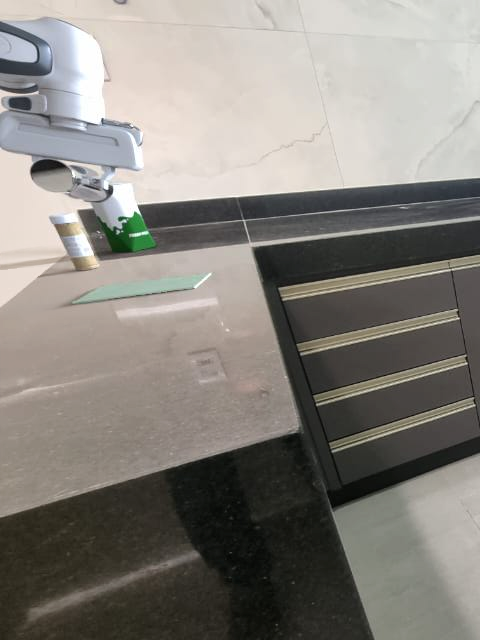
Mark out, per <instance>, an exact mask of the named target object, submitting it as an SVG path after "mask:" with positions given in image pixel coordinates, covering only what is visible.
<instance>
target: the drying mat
mask: <svg viewBox="0 0 480 640" xmlns="http://www.w3.org/2000/svg"><path fill="white" fill-rule="evenodd" d="M211 275H212V272H206V273H198V274H190V275H182V276H181V275H180V276H174V277H173V276H172V277H166V278H165V277H164V278H157V279H149V280H148V279H147V280H142V281H141V280H140V281H132V282H123V283H117V284H108V285H101V286H99V287H98V288H96V289H93V290H92V291H90V292H89V293H86V294H85V295H84V296H81V297H79V298H78V299H76V300H74V301H73V302H72V305H81V304H88V303H89V304H90V303H96V301H97V302H103V300H104V301H109V300H108V299H112V300H115V299H114V298H120V297H127V296H135V295H142V296H146V295H145V294H150V295H153V294H152V293H158V294H162V293H161V292H165V293H168V292H167V291H172V290H181V291H184V290H183V289H188V290H193V289H192V288H195V289H197V288H198V287H199V286H200V285H201V284H203V282H204V281H206V280H207V279H208V278H209V277H210V276H211ZM135 297H136V296H135ZM127 298H128V297H127ZM120 299H121V298H120Z"/></svg>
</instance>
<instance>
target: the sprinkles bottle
mask: <svg viewBox="0 0 480 640" xmlns="http://www.w3.org/2000/svg"><path fill="white" fill-rule="evenodd" d="M48 219H49V221H50V223H51V224H52V225H53V227H54V228H55V231H56V233H57V235H58V237H59V239H60V241H61V243H62V245H63V247H64V249H65V251H66V253H67V255H68V257H69V258H70V260H71V262H72V264H73V266H74V269H75V271H88V270H94V269H98V268H99V267H100V263H98V261H97V259H96V257H95V255H94V251H93V249H92V248H91V245H90V243H89V241H88V239H87V237H86V234H85V233H84V232H83V230H82V228H81V226H80V224H79V220H78V218H77V215H76V214H75V213H73V212H72V213H71V212H69V213H57V214H53V215H49V216H48Z"/></svg>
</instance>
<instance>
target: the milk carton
mask: <svg viewBox="0 0 480 640" xmlns="http://www.w3.org/2000/svg"><path fill="white" fill-rule="evenodd" d="M112 184H113V187H114V192H113V195H112V197H111V198H110V199H108V200H107V201H105V202H101V203H93V202H89V203H90V205H91V207H92V209H93V211H94V213H95V215H96V217H97V220H98V222H99V224H100V226H101V228H102V230H103V233H104V235H105V238H106V239H107V242H108V244H109V247H110V249H111V252H112V253H134V252H138V251H139V252H140V251H143V250H147V249H151V248H156V247H157V244H156V243H155V240H154V239H153V237H152V235H151V233H150V231H149V230H148V227H147V225H146V223H145V220H144V218H143V216H142V213H141V212H140V210H139V209H140V208H139V207H138V204H137V202H136V199H135V195H134V190H133V185H132V183H124V182H121V183H112ZM155 246H156V247H155ZM142 249H143V250H142Z"/></svg>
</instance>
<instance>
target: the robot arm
mask: <svg viewBox="0 0 480 640" xmlns="http://www.w3.org/2000/svg"><path fill="white" fill-rule="evenodd" d="M103 61H104V60H103V55H102V51H101V47H100V45H99V43H98V42H97V40H96V39H95V38H94V37H93V36H92V35H91V34H90V33H88V32H87V31H85V30H83V29H82V28H80V27H79V26H76V25H74V24H71V23H69V22H67V21H65V20H62V19H59V18H54V17H50V16H42V17H39V18H36V19H28V20H5V19H0V90H1V91H4V92H7V93H11V94H18V95H7V96H6V95H5V96H3V97H1V98H0V103H1V106H2V108H4V109H6V110H4V111H1V112H0V149H1V150H3V151H5V152H6V153H7V152H8V153H11V154H16V155H23V156H28V157H29V156H30V157H31V162H32V164H33V163H34V162H35V161H37V160H39V159H43V158H52V159H57V160H59V161H62V162H70V163H71V162H72V163H78V164H85V165H86V164H87V165H90V166H91V165H92V166H99V167H101V168H100V169H101V171H102V172H103V173H102V174H103V175H102V177H101V178H100V179H94V182H95V188H98V189H105V190H108V181H111V180H112V178H113V177H114V176H115V175H116V169H119V170H127V171H133V172H134V171H135V172H140V171H142V169H144V158H143V151H142V147H141V146H142V145H143V140H144V139H143V131H141V129H140V128H138V127H137V126H136V125H134V124H133V123H131V122H128V121H127V122H126V121H118V120H115V119H109V118H106V114H105V113H106V112H105V105H106V104H105V100H104V98H103V94H102V89H103V86H104V83H105V72H104V62H103ZM37 92H38V93H37ZM32 93H35V94H32Z"/></svg>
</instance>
